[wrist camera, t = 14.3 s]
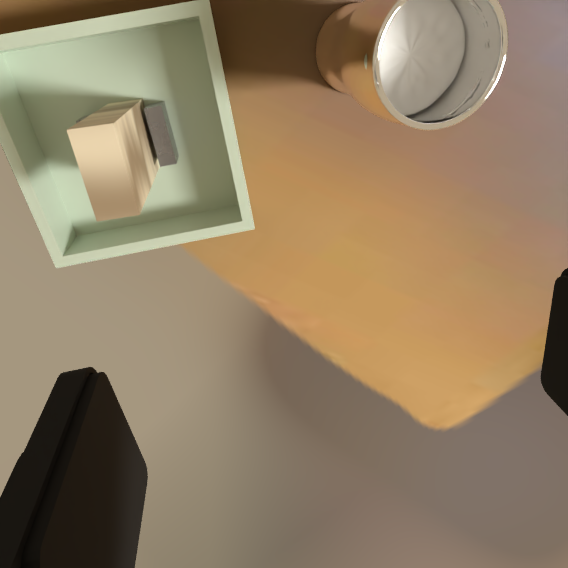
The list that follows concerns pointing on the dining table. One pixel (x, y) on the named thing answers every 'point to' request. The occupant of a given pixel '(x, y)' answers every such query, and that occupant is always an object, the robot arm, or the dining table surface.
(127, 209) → the upright wooden plank
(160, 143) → the wick clip
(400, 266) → the dining table surface
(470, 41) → the metal tumbler
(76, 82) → the pale green prong tray
